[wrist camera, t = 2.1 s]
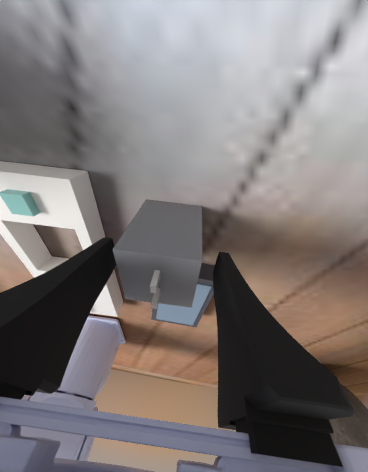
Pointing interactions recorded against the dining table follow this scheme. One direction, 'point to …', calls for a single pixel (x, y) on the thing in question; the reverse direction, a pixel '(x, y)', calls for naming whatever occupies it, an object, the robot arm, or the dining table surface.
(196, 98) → the dining table surface
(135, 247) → the plug
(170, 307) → the phone
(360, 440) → the bowl
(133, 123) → the dining table surface
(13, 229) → the white flat block
